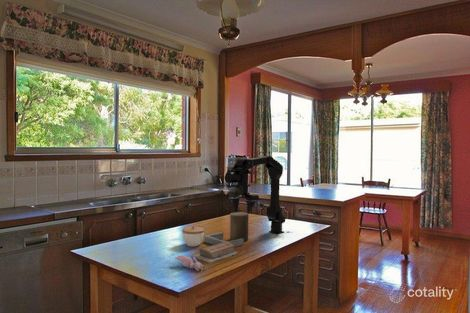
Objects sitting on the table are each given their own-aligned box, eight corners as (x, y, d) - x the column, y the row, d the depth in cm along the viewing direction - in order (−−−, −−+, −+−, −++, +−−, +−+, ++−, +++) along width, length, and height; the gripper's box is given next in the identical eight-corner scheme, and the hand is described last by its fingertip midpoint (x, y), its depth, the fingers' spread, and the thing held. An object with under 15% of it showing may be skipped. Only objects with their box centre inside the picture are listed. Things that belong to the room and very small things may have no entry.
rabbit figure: (208, 272, 137) (180, 259, 145) (210, 258, 136) (182, 245, 144) (198, 277, 132) (170, 263, 139) (200, 262, 131) (171, 249, 139)
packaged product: (223, 239, 163) (238, 244, 157) (223, 249, 163) (238, 254, 157) (194, 247, 150) (209, 252, 143) (194, 258, 150) (209, 264, 143)
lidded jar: (194, 240, 177) (195, 222, 177) (208, 244, 170) (208, 226, 169) (177, 244, 170) (177, 225, 170) (190, 249, 162) (191, 229, 162)
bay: (221, 237, 183) (221, 232, 183) (243, 244, 171) (243, 238, 171) (204, 241, 175) (204, 235, 175) (226, 249, 163) (226, 243, 163)
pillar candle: (248, 242, 175) (249, 213, 175) (229, 241, 176) (229, 212, 175) (248, 237, 185) (248, 209, 185) (230, 237, 185) (230, 209, 185)
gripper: (219, 181, 179) (218, 211, 179) (244, 184, 165) (243, 216, 165) (234, 181, 186) (234, 209, 186) (260, 183, 173) (259, 214, 173)
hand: (242, 212), depth 178 cm, fingers open, 9 cm apart
